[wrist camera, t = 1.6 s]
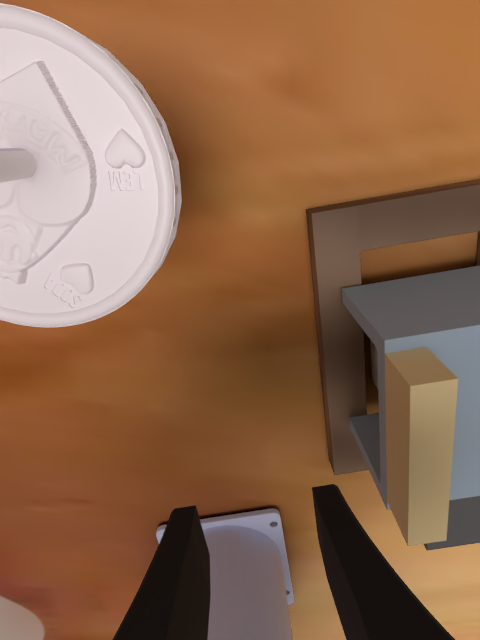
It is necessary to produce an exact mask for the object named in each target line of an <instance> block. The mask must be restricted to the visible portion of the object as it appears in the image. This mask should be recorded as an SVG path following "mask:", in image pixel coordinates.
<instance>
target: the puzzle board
mask: <svg viewBox="0 0 480 640" xmlns="http://www.w3.org/2000/svg"><path fill="white" fill-rule="evenodd" d="M306 213H307V224H308V235H309V246H310V257H311V268H312V278H313V289H314V300H315V311H316V322H317V332H318V343H319V354H320V365H321V376H322V386H323V397H324V408H325V419H326V430H327V440H328V451H329V461H330V464H331V467H332V469H333V472H334V475H339V474H345V473H352V472H358V471H365V470H369V468H368V466H367V464H366V462H365V460H364V457H363V455H362V453H361V451H360V449H359V446H358V444H357V442H356V440H355V438H354V435H353V433H352V431H351V429H350V417H356V416H363V415H367V410H366V385H365V360H364V335H363V329H362V328H361V326H360V325H359V324H358V323H357V321H356V320H355V319H354V317H353V316H352V315H351V313H350V312H349V311H348V309H347V308H346V307H345V305H344V304H343V303H342V289H343V288H349V287H355V286H361V259H360V251H365V250H370V249H376V248H382V247H388V246H394V245H400V244H406V243H412V242H418V241H423V240H429V239H435V238H441V237H447V236H453V235H459V234H465V233H470V232H476V231H479V236H478V248H477V260H476V266H480V179H478V180H472V181H467V182H461V183H455V184H449V185H444V186H438V187H432V188H426V189H421V190H415V191H409V192H403V193H397V194H392V195H386V196H380V197H374V198H369V199H363V200H357V201H351V202H346V203H340V204H334V205H328V206H323V207H317V208H311V209H306Z"/></svg>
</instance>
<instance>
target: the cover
mask: <svg viewBox="0 0 480 640" xmlns="http://www.w3.org/2000/svg"><path fill="white" fill-rule="evenodd" d="M342 303H343V304H344V305H345V307H346V308H347V309H348V311H349V312H350V313H351V315H352V316H353V317H354V319H355V320H356V321H357V323H358V324H359V325H360V326H361V328H362V329H363V330H364V332H365V333H366V334H367V336H368V337H369V338H370V340H371V341H372V342H373V344H374V345H375V346H376V347H377V349H378V390H379V413H375V414H369V415H363V416H356V417H350V429H351V431H352V433H353V435H354V438H355V440H356V442H357V444H358V446H359V449H360V451H361V453H362V455H363V457H364V460H365V462H366V464H367V466H368V468H369V471H370V473H371V475H372V477H373V479H374V482H375V484H376V486H377V488H378V491H379V493H380V495H381V497H382V499H383V502H384V504H385V506H386V508H387V510H389V509H391V511H392V513H393V515H394V517H395V519H396V521H397V524H398V526H399V528H400V530H401V532H402V534H403V537H404V539H405V541H406V543H407V545H408V546H413V545H419V544H426V543H433V542H440V541H446V539H447V526H448V512H449V500H455V499H461V498H468V497H475V496H480V266H474V267H468V268H462V269H456V270H450V271H444V272H438V273H432V274H426V275H420V276H414V277H408V278H402V279H396V280H391V281H385V282H379V283H373V284H367V285H361V286H355V287H349V288H343V289H342Z"/></svg>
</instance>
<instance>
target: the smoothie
mask: <svg viewBox="0 0 480 640" xmlns="http://www.w3.org/2000/svg"><path fill="white" fill-rule="evenodd" d="M181 204H182V195H181V183H180V171H179V161H178V158H177V155H176V152H175V149H174V146H173V144H172V141H171V138H170V135H169V132H168V129H167V126H166V123H165V121H164V119H163V118H162V116H161V114H160V113H159V111H158V109H157V108H156V106H155V105H154V103H153V101H152V100H151V98H150V97H149V95H148V93H147V92H146V90H145V89H144V87H143V85H142V84H141V83H140V82H139V81H138V80H137V79H136V78H135V77H134V76H133V75H132V74H131V73H130V72H129V71H128V70H127V69H126V68H125V67H124V66H123V65H122V64H121V63H120V62H119V61H118V60H117V59H116V58H115V57H114V56H113V55H112V54H111V53H110V52H109V51H108V50H107V49H105V48H103V47H102V46H100V45H99V44H97V43H95V42H94V41H92V40H90V39H89V38H87V37H85V36H84V35H82V34H80V33H79V32H77V31H75V30H74V29H72V28H70V27H69V26H67V25H65V24H63V23H61V22H59V21H57V20H55V19H53V18H51V17H48V16H46V15H43V14H40V13H38V12H35V11H33V10H29V9H25V8H21V7H18V6H14V5H7V4H1V3H0V320H3V321H7V322H11V323H15V324H20V325H26V326H35V327H63V326H71V325H77V324H82V323H85V322H89V321H92V320H95V319H98V318H100V317H103V316H105V315H107V314H109V313H111V312H113V311H115V310H116V309H118V308H119V307H121V306H123V305H124V304H126V303H127V302H128V301H129V300H131V299H132V298H133V297H134V296H135V295H136V294H137V293H138V292H139V291H140V290H141V289H142V288H143V287H144V286H145V285H146V284H147V282H148V281H149V280H150V279H151V277H152V276H153V275H154V274H155V273H156V272H157V271H158V269H159V268H160V267H161V266H162V264H163V262H164V260H165V258H166V256H167V254H168V251H169V249H170V247H171V245H172V243H173V241H174V239H175V237H176V232H177V227H178V221H179V215H180V209H181Z"/></svg>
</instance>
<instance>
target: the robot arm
mask: <svg viewBox="0 0 480 640" xmlns="http://www.w3.org/2000/svg"><path fill="white" fill-rule="evenodd" d="M312 491H313V499H314V508H315V516H316V524H317V533H318V539H319V544H320V548H321V553H322V558H323V562H324V566H325V571H326V575H327V579H328V582H329V586H330V589H331V592H332V595H333V598H334V602H335V605H336V608H337V611H338V614H339V617H340V621H341V624H342V627H343V630H344V633H345V636H346V639H347V640H455V639H454V638H453V637H452V636H451V635H450V634H449V633H448V632H447V631H446V630H445V629H444V628H443V626H442V625H441V624H440V623H439V622H438V621H437V620H436V619H435V618H434V617H433V616H432V614H431V613H430V612H429V611H428V610H427V609H426V608H425V607H424V605H423V604H422V603H421V602H420V601H419V600H418V598H417V597H416V596H415V595H414V594H413V593H412V591H411V590H410V589H409V588H408V587H407V585H406V584H405V583H404V582H403V581H402V579H401V578H400V577H399V576H398V574H397V573H396V572H395V571H394V569H393V568H392V567H391V566H390V564H389V563H388V562H387V560H386V559H385V558H384V556H383V555H382V554H381V552H380V551H379V550H378V548H377V547H376V546H375V544H374V543H373V542H372V540H371V539H370V538H369V536H368V535H367V533H366V532H365V530H364V529H363V527H362V526H361V524H360V523H359V521H358V520H357V518H356V517H355V515H354V514H353V512H352V511H351V509H350V507H349V506H348V504H347V502H346V501H345V499H344V497H343V495H342V494H341V492H340V490H339V488H338V487H337V486H336V485H334V484H332V485H326V486H319V487H313V488H312ZM273 521H274V522H273ZM156 537H157V540H158V543H159V546H158V548H157V550H156V553H155V555H154V557H153V560H152V562H151V564H150V566H149V568H148V570H147V573H146V575H145V577H144V579H143V581H142V583H141V586H140V588H139V590H138V592H137V594H136V596H135V598H134V600H133V602H132V604H131V606H130V608H129V610H128V612H127V613H126V615H125V617H124V619H123V621H122V623H121V625H120V627H119V629H118V631H117V633H116V634H115V636H114V638H113V640H293V637H292V630H291V623H290V616H289V609H288V605H291V604H293V603H294V600H295V599H294V593H293V588H292V582H291V576H290V570H289V564H288V558H287V553H286V547H285V541H284V535H283V529H282V523H281V518H280V513H279V511H278V510H277V509H274V508H273V509H265V510H258V511H252V512H245V513H238V514H232V515H225V516H219V517H212V518H206V519H199V515H198V512H197V509H196V506H189V507H183V508H176V509H174V510H173V511H172V512H171V515H170V518H169V520H168V523H167V525H161V526H159V527H158V528H157V531H156Z"/></svg>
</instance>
